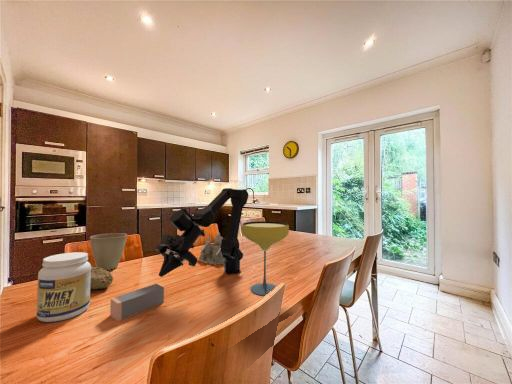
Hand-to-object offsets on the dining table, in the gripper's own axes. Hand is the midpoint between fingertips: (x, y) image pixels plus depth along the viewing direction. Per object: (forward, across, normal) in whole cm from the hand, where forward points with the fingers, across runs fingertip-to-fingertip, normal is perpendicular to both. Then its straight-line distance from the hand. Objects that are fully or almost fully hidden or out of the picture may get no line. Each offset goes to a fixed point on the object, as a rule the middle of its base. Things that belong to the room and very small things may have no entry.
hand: (159, 276), depth 75 cm
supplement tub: (+21, -15, -9) cm, 28 cm away
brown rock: (+13, -32, -1) cm, 35 cm away
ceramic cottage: (-24, -20, +36) cm, 48 cm away
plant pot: (+4, -50, +8) cm, 51 cm away
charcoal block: (+4, 0, +4) cm, 6 cm away
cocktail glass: (-15, +23, +26) cm, 38 cm away
